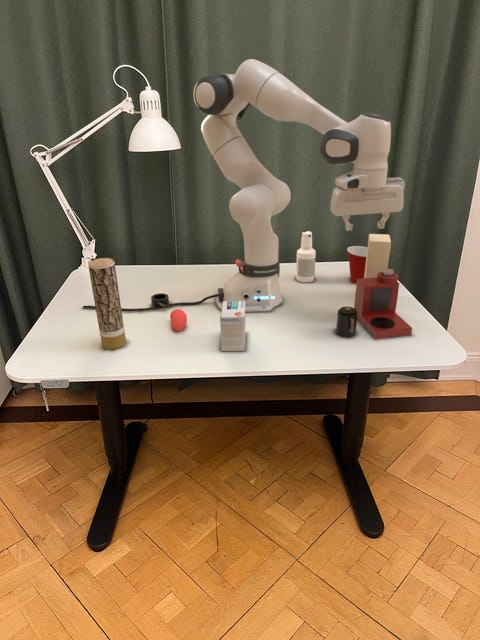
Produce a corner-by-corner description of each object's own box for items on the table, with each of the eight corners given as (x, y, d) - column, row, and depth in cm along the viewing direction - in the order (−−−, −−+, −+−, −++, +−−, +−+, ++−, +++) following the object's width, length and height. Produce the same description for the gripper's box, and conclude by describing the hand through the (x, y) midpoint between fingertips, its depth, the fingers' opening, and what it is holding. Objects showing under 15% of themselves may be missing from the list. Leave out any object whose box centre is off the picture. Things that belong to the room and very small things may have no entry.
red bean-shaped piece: (191, 323, 153) (184, 305, 152) (189, 326, 144) (180, 307, 143) (176, 330, 153) (168, 311, 152) (173, 333, 144) (164, 313, 144)
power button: (385, 278, 144) (385, 272, 143) (380, 274, 147) (381, 269, 146) (394, 277, 145) (395, 271, 144) (390, 273, 147) (390, 268, 146)
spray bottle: (302, 284, 177) (304, 236, 169) (292, 278, 182) (293, 231, 174) (317, 280, 180) (320, 233, 171) (307, 274, 185) (309, 228, 177)
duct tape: (174, 298, 167) (174, 291, 166) (168, 311, 158) (168, 303, 157) (152, 298, 168) (151, 290, 166) (145, 310, 159) (144, 302, 157)
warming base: (375, 339, 139) (379, 304, 134) (360, 323, 148) (364, 290, 143) (411, 335, 140) (416, 300, 135) (394, 319, 149) (399, 286, 144)
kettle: (342, 341, 138) (344, 316, 134) (331, 327, 146) (333, 303, 142) (360, 339, 139) (363, 314, 135) (349, 325, 147) (351, 301, 143)
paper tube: (114, 352, 135) (100, 268, 124) (97, 346, 138) (82, 264, 127) (131, 342, 140) (119, 260, 129) (114, 336, 143) (101, 256, 132)
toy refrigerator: (385, 302, 161) (393, 241, 151) (363, 301, 162) (369, 240, 153) (384, 293, 168) (391, 234, 158) (362, 291, 169) (368, 233, 160)
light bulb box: (223, 333, 144) (222, 300, 139) (246, 333, 143) (245, 300, 139) (221, 351, 134) (219, 316, 129) (245, 351, 134) (244, 316, 129)
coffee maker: (360, 323, 148) (365, 280, 142) (353, 314, 153) (357, 273, 147) (395, 319, 149) (401, 277, 143) (387, 311, 155) (392, 270, 149)
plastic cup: (377, 286, 173) (381, 254, 168) (347, 286, 174) (350, 254, 168) (370, 275, 183) (374, 244, 178) (342, 275, 183) (344, 245, 178)
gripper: (400, 174, 134) (394, 223, 140) (329, 178, 131) (326, 228, 137) (411, 178, 129) (404, 229, 135) (338, 183, 126) (334, 234, 132)
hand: (364, 229), depth 136 cm, fingers open, 8 cm apart
